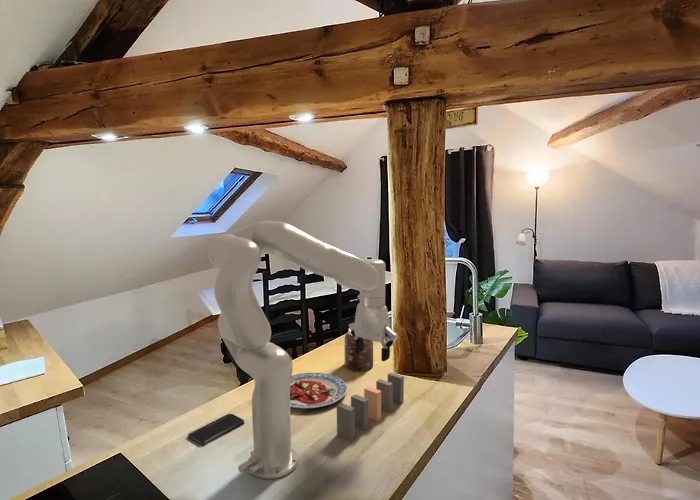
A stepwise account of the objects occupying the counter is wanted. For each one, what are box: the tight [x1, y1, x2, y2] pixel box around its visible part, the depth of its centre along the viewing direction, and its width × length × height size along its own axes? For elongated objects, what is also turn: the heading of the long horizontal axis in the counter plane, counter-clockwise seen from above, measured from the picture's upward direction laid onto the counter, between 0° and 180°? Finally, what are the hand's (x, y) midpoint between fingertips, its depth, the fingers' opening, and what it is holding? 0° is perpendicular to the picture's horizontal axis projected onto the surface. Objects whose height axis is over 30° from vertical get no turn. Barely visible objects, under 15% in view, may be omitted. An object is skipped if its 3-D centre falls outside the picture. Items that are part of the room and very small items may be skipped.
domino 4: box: [387, 372, 405, 405], centre depth 142 cm, size 2×5×9 cm, turn 51°
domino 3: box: [375, 378, 394, 413], centre depth 137 cm, size 2×5×9 cm, turn 51°
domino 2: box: [350, 393, 370, 431], centre depth 127 cm, size 2×5×9 cm, turn 51°
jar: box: [343, 327, 374, 373], centre depth 169 cm, size 12×12×15 cm
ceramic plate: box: [290, 372, 348, 409], centre depth 147 cm, size 26×26×3 cm
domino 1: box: [336, 402, 356, 442], centre depth 122 cm, size 2×5×9 cm, turn 51°
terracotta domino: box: [363, 385, 382, 422], centre depth 131 cm, size 2×5×9 cm, turn 51°
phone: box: [187, 413, 245, 447], centre depth 126 cm, size 8×1×15 cm
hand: (372, 356), depth 129 cm, fingers open, 9 cm apart
